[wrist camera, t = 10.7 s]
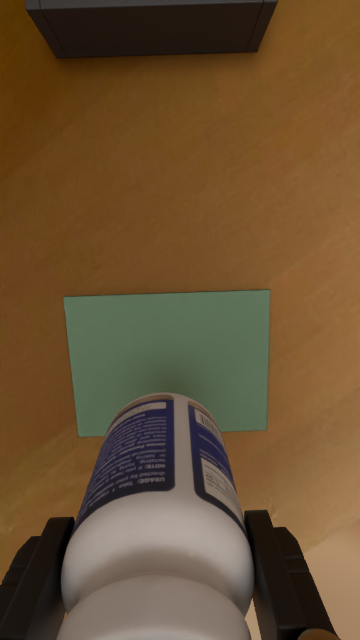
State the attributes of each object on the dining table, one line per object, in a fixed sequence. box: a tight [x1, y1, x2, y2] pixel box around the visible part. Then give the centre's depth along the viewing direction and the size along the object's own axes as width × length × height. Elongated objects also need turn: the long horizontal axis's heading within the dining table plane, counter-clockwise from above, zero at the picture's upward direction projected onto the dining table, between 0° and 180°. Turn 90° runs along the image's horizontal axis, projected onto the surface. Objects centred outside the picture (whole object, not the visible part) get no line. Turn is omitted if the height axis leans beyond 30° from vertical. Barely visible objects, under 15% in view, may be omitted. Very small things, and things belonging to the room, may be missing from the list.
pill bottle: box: [56, 392, 255, 640], centre depth 12 cm, size 6×6×10 cm
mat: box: [63, 289, 270, 437], centre depth 27 cm, size 16×12×1 cm
